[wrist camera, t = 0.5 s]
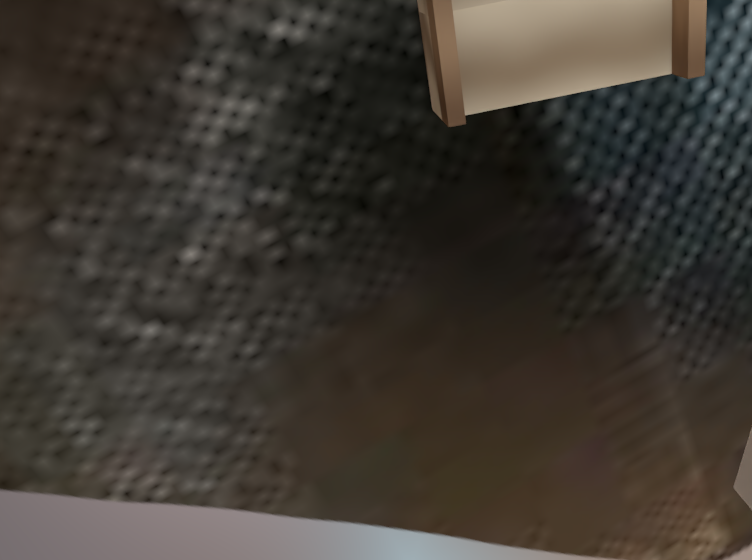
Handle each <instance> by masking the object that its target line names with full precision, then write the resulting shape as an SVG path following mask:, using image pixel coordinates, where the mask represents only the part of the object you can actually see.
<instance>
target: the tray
mask: <svg viewBox="0 0 752 560" xmlns="http://www.w3.org/2000/svg"><path fill="white" fill-rule="evenodd" d="M417 3H418V11H419V18H420V25H421V32H422V39H423V47H424V54H425V61H426V68H427V76H428V83H429V90H430V97H431V105H432V110H433V111H434V112H435V113H436V114H437V115H438V116H439V117H440V118H441V119H442V121H443V122H444V123H445V124H446V125H447V126H448V127H453V126H458V125H463V124H466V119H465V115H470V114H475V113H480V112H485V111H490V110H495V109H500V108H505V107H510V106H515V105H520V104H524V103H529V102H534V101H539V100H544V99H549V98H554V97H559V96H564V95H569V94H574V93H579V92H584V91H589V90H594V89H599V88H604V87H609V86H613V85H618V84H623V83H628V82H633V81H638V80H643V79H648V78H653V77H658V76H663V75H668V74H674V75H677V76H680V77H683V78H687V79H690V78H694V77H699V76H704V75H705V45H706V10H707V0H417Z"/></svg>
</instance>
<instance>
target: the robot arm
mask: <svg viewBox="0 0 752 560" xmlns="http://www.w3.org/2000/svg"><path fill="white" fill-rule="evenodd" d="M733 488H734V489H735V490H736V491H737V493H738V494H739V495H740V496H741V497H742V499H743V500H744V501H745V502H746V503H747V505H748V506H749V507H750V508H751V510H752V428H751V432H750V435H749V438H748V442H747V445H746V448H745V451H744V455H743V458H742V461H741V464H740V468H739V471H738V474H737V478H736V481H735V484H734V487H733Z"/></svg>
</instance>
